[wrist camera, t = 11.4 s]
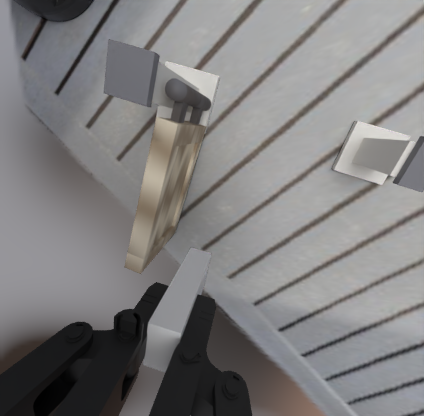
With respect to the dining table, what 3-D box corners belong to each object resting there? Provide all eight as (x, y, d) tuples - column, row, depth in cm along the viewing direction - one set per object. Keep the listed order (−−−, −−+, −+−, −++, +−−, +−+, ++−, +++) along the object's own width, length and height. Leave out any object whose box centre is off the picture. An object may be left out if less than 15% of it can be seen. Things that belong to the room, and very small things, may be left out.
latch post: (331, 168, 30) (367, 188, 20) (354, 121, 28) (408, 115, 17) (378, 183, 29) (439, 210, 19) (405, 136, 27) (490, 139, 17)
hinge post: (158, 118, 32) (82, 109, 18) (169, 63, 30) (89, 4, 16) (205, 133, 31) (162, 135, 18) (220, 77, 29) (183, 29, 15)
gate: (199, 94, 29) (165, 74, 18) (214, 99, 29) (188, 82, 18) (163, 228, 36) (124, 267, 26) (175, 232, 36) (140, 273, 26)
